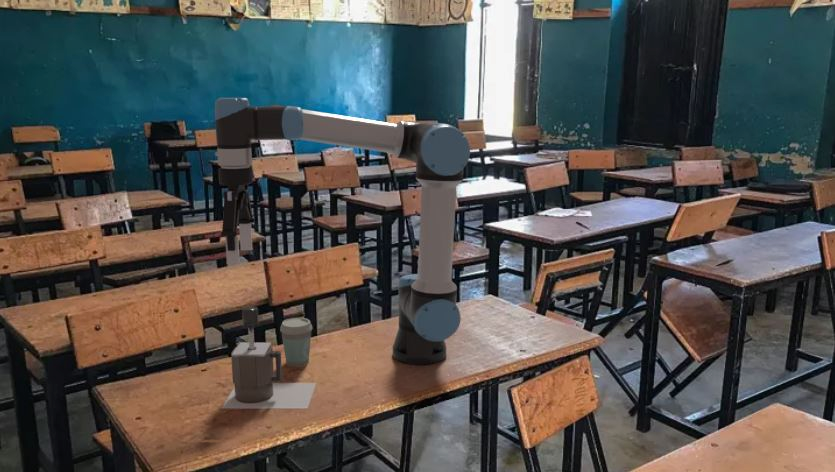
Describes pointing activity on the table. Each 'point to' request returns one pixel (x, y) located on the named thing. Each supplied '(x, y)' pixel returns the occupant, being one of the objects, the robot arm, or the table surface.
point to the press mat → (278, 397)
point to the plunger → (250, 323)
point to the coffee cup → (296, 341)
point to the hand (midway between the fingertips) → (240, 256)
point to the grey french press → (255, 372)
